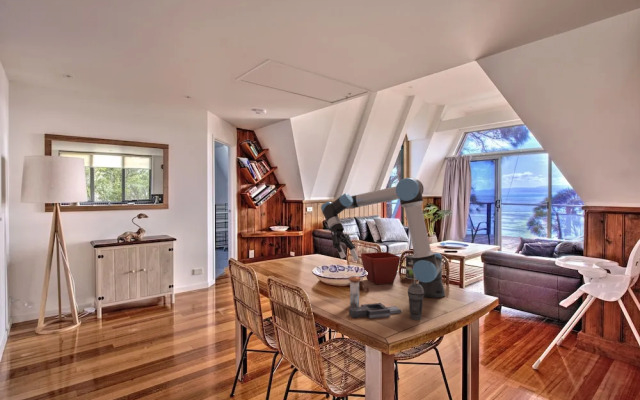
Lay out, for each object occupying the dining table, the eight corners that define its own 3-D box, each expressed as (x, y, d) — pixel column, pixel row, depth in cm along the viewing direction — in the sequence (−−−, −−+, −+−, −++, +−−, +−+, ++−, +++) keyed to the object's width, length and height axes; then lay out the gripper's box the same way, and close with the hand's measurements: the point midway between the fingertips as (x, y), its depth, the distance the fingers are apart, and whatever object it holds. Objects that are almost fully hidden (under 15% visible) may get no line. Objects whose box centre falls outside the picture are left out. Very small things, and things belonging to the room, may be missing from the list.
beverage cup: (414, 322, 145) (414, 276, 145) (403, 316, 152) (404, 272, 152) (427, 319, 148) (428, 274, 148) (416, 314, 155) (417, 271, 154)
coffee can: (421, 280, 214) (421, 258, 214) (404, 279, 218) (404, 257, 217) (422, 276, 224) (422, 255, 223) (406, 275, 227) (406, 254, 227)
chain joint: (393, 307, 164) (393, 301, 164) (403, 314, 154) (403, 308, 154) (347, 312, 157) (347, 306, 157) (355, 320, 148) (355, 313, 148)
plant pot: (360, 278, 219) (360, 253, 218) (387, 276, 223) (387, 251, 223) (371, 286, 200) (371, 258, 200) (400, 284, 205) (401, 257, 204)
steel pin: (361, 305, 168) (361, 276, 167) (358, 308, 162) (358, 279, 162) (351, 303, 170) (351, 275, 170) (347, 307, 165) (347, 278, 164)
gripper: (342, 232, 205) (356, 263, 194) (318, 226, 185) (332, 260, 175) (351, 226, 202) (366, 257, 191) (328, 218, 182) (343, 252, 172)
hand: (350, 258), depth 183 cm, fingers open, 13 cm apart
